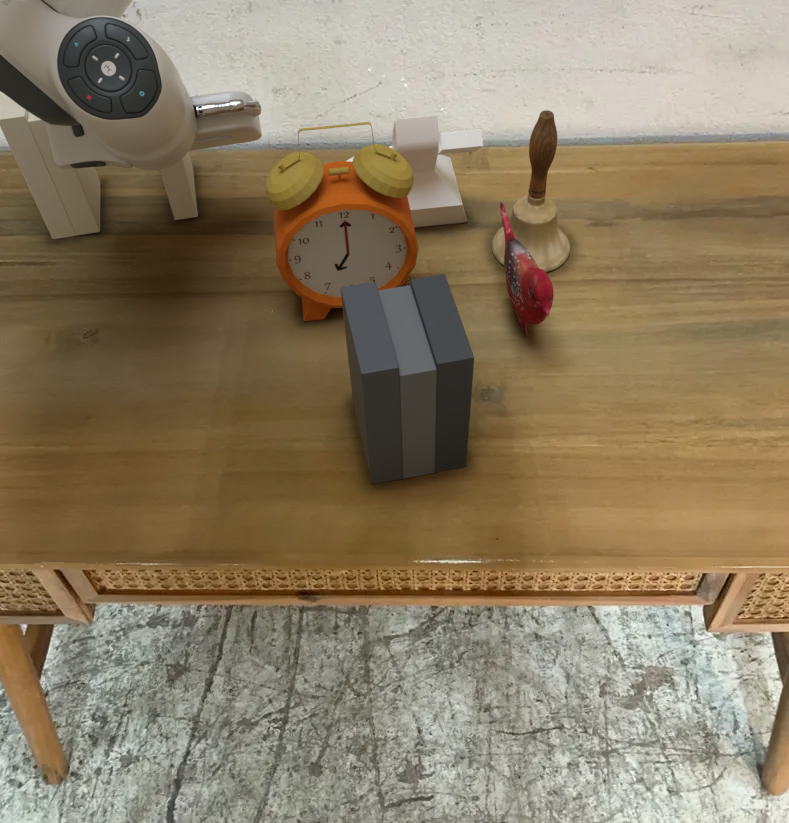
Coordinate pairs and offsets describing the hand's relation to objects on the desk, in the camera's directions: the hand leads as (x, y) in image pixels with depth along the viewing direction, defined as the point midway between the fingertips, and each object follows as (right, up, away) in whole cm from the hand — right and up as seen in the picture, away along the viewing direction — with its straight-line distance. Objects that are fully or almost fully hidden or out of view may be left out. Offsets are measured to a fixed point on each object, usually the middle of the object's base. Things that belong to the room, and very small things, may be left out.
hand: (167, 146), depth 89 cm
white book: (0, -3, +7) cm, 8 cm away
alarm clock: (+20, -17, -3) cm, 26 cm away
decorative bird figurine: (+36, -18, -5) cm, 41 cm away
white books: (-12, -5, +6) cm, 14 cm away
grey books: (+25, -30, -14) cm, 42 cm away
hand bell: (+39, -11, 0) cm, 40 cm away
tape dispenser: (+26, -6, +5) cm, 27 cm away
